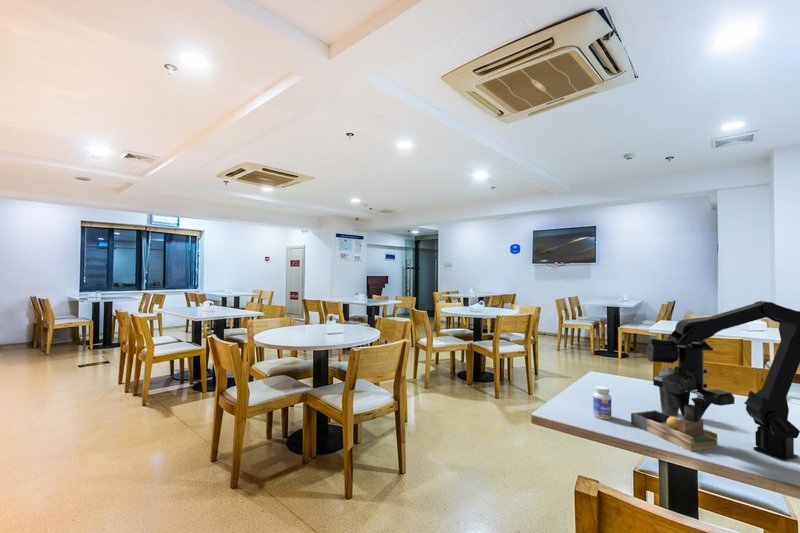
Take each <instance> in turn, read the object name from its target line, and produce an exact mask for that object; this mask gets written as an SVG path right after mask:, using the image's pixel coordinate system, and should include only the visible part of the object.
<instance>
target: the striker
mask: <svg viewBox="0 0 800 533" xmlns="http://www.w3.org/2000/svg"><path fill="white" fill-rule="evenodd" d="M703 429H704V419H702V418H701V419H700V421H699V422H696V421H695V418H694V404H690V403H689V404H684V417H683V418H681V419H680V420H678V431H679V432H681V433H684V434H686V435H689V436H695V435H701V434H703Z"/></svg>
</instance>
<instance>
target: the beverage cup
mask: <svg viewBox="0 0 800 533" xmlns="http://www.w3.org/2000/svg"><path fill="white" fill-rule="evenodd" d="M665 364H666V368H663V369H661V370H660V371H659V372H658V375H657V376H661V375H669V374H673V373H674V368H670V367H669V363H665ZM658 390H659V398H660V399H659V400H660V408H661V409H660V410H661V413H663V414H666V415H669V416H672V417H678V416H679V412H680V409H679V406H678V404H677V401H676V399H675V397H674V396H673V395H672V394H670V393H669V392H667V391H666V390H665V389H664V387H663V388H661V387H658Z"/></svg>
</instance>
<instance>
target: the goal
mask: <svg viewBox="0 0 800 533" xmlns="http://www.w3.org/2000/svg"><path fill="white" fill-rule="evenodd" d="M669 417H670V416H669V415H666V414H663V413H662V411H658V410H647V411H638V412H631V414H630V424H631V425H632V426H634V427H636V428H639V429H640V430H643V431H645V432H647V419H650V420H653V421H655V422H657V423H664V422H667V419H668V418H669Z"/></svg>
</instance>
